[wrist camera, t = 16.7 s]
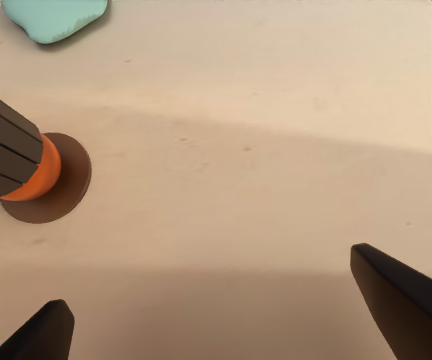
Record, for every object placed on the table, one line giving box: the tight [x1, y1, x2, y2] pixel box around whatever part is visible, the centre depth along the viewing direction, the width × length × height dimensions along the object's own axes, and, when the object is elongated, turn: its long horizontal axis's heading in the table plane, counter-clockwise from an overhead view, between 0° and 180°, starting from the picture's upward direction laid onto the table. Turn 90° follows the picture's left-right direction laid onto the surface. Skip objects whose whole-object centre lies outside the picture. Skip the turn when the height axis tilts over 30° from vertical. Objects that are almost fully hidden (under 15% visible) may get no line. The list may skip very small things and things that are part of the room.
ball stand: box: [0, 133, 91, 223], centre depth 23 cm, size 8×8×6 cm
